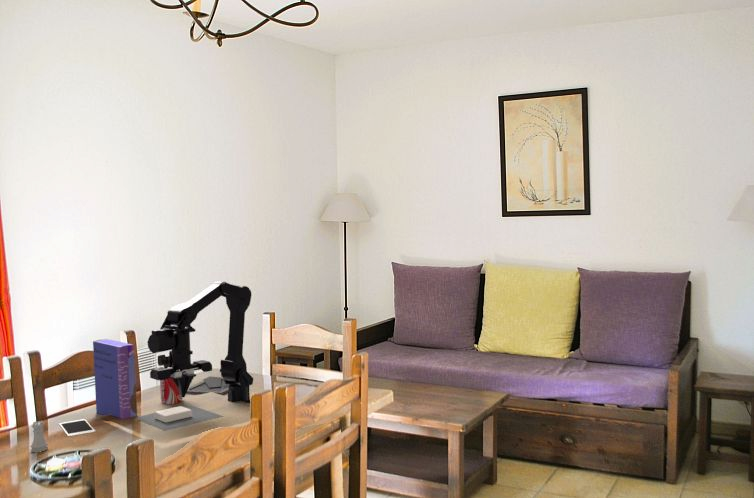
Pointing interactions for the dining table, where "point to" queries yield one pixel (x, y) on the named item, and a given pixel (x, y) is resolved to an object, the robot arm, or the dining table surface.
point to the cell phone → (76, 427)
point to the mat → (196, 417)
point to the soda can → (169, 392)
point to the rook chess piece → (38, 438)
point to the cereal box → (115, 378)
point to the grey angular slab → (209, 386)
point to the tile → (173, 414)
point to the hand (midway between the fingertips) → (182, 397)
